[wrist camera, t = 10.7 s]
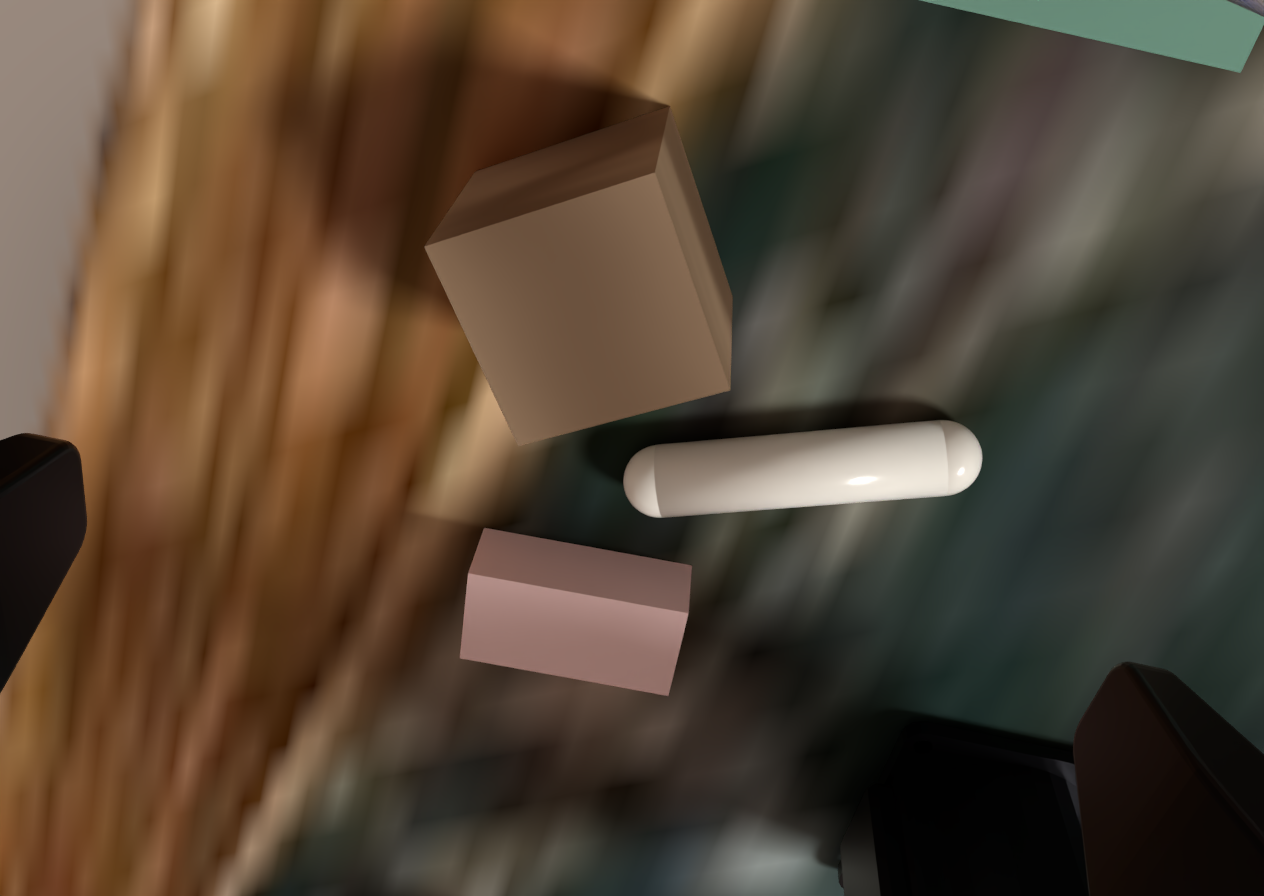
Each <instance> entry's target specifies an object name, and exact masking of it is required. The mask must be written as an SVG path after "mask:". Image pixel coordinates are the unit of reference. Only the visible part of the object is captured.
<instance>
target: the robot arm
mask: <svg viewBox="0 0 1264 896" xmlns="http://www.w3.org/2000/svg"><path fill="white" fill-rule="evenodd" d="M86 527H87V514H86V504H85V495H84V485H83V475H82V465H81V458H80V454H79V452H78V450H77V448H76V447H75V446H74V445H73V444H72V443H70V442H69V441H66V440H61V439H56V438H51V437H46V436H42V435H37V434H31V433H21V434H18V435H14V436H11V437H9V438H6V439H3V440H0V693H1V691H2V689H3V688H4V686H5V684H6V683H7V681H8V679H9V677H10V676H11V674H12V672H13V671H14V669H15V667H16V665H17V663H18V661H19V660H20V658H21V656H22V654H23V652H24V651H25V649H26V647H27V645H28V643H29V641H30V640H31V638H32V636H33V634H34V632H35V630H36V629H37V627H38V625H39V623H40V621H41V619H42V618H43V616H44V614H45V612H46V610H47V608H48V607H49V605H50V603H51V601H52V599H53V598H54V596H55V594H56V592H57V590H58V588H59V587H60V585H61V583H62V581H63V579H64V577H65V576H66V574H67V572H68V570H69V568H70V566H71V565H72V563H73V561H74V559H75V557H76V556H77V554H78V552H79V550H80V548H81V546H82V543H83V540H84V537H85V533H86ZM921 740H924V741H926V742H923V743H917V742H918V741H921ZM840 852H841V861H840V863H839V865H838V878H839V883H840V885H841V887H843V888H844V896H1264V754H1263V753H1262V752H1261V751H1259V750H1258V749H1257V748H1256V747H1255V746H1254V745H1253V744H1252V743H1251V742H1249V741H1248V740H1247V739H1246V738H1245V737H1244V736H1243V735H1242V734H1240V733H1239V732H1238V731H1237V730H1236V729H1235V728H1234V727H1233V726H1232V725H1230V724H1229V723H1228V722H1227V721H1226V720H1225V719H1224V718H1223V717H1221V716H1220V715H1219V714H1218V713H1217V712H1216V711H1215V710H1214V709H1212V708H1211V707H1210V706H1209V705H1208V704H1207V703H1206V702H1205V701H1204V700H1202V699H1201V698H1200V697H1199V696H1198V695H1197V694H1196V693H1195V692H1193V691H1192V690H1191V689H1190V688H1189V687H1188V686H1187V685H1186V684H1185V683H1183V682H1182V681H1181V680H1180V679H1179V678H1178V677H1177V676H1176V675H1174V674H1173V673H1172V672H1170V671H1168V670H1165V669H1162V668H1157V667H1152V666H1148V665H1143V664H1138V663H1133V662H1122V663H1119V664H1117V665H1116V666H1115V667H1114V668H1112V670H1111V671H1110V672H1109V674H1108V675H1107V677H1106V679H1105V680H1104V682H1103V684H1102V685H1101V687H1100V689H1099V690H1098V692H1097V694H1096V695H1095V697H1094V699H1093V700H1092V702H1091V704H1090V705H1089V707H1088V709H1087V710H1086V712H1085V714H1084V715H1083V717H1082V719H1081V720H1080V722H1079V724H1078V726H1077V729H1076V732H1075V736H1074V743H1073V752H1069V751H1065V750H1060V749H1055V748H1050V747H1045V746H1040V745H1036V744H1031V743H1026V742H1021V741H1016V740H1011V739H1007V738H1002V737H997V736H992V735H987V734H982V733H978V732H973V731H968V730H963V729H958V728H953V727H949V726H944V725H939V724H934V723H929V722H915V723H911V724H910V725H908V726H906V727H905V728H904V729H903V731H902V732H901V734H900V736H899V738H898V740H897V743H896V745H895V747H894V749H893V751H892V753H891V755H890V757H889V760H888V762H887V764H886V766H885V768H884V770H883V772H882V774H881V776H880V779H879V781H878V783H877V782H874V783H873V784H872V785H870V786H869V787H868V788H867V789H866V790H865V793H864V795H863V797H862V799H861V801H860V803H859V805H858V808H857V810H856V812H855V814H854V816H853V818H852V820H851V823H850V825H849V827H848V829H847V831H846V833H845V835H844V838H843V840H842V842H841V845H840Z"/></svg>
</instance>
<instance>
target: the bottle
mask: <svg viewBox="0 0 1264 896" xmlns="http://www.w3.org/2000/svg"><path fill="white" fill-rule="evenodd" d="M1227 1H1229V2H1231V3H1234V4H1236V5H1238V6H1240V7H1243V8H1245V9H1247V10H1249V11H1252V12H1254V13H1256V14H1258V15H1261V16H1263V17H1264V0H1227Z"/></svg>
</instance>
